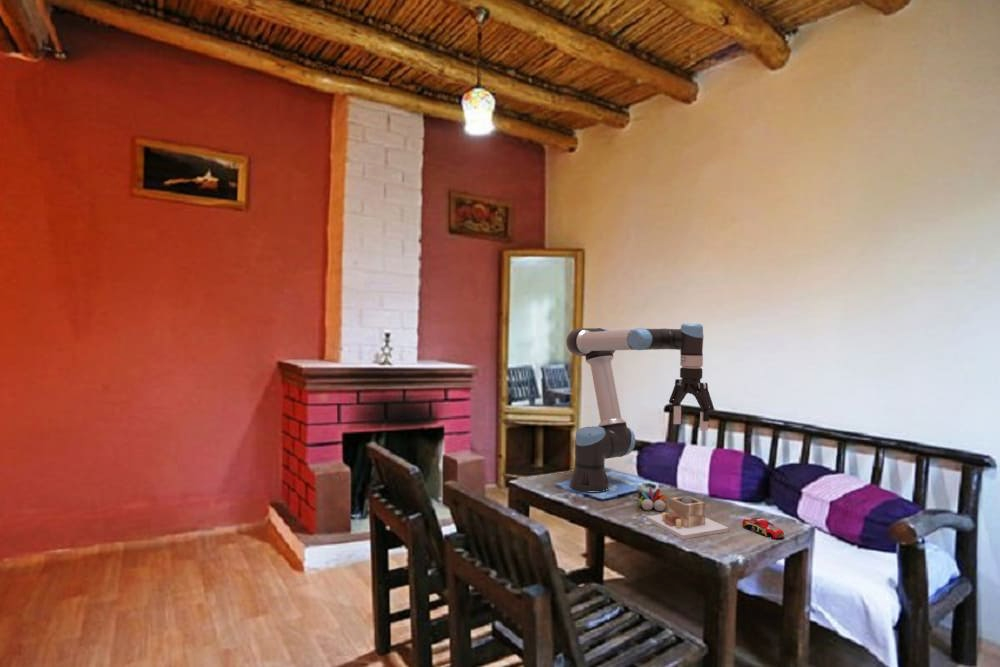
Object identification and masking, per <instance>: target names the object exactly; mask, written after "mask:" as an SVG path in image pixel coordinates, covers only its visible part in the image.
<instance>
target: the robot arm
mask: <svg viewBox="0 0 1000 667" xmlns="http://www.w3.org/2000/svg"><path fill="white" fill-rule="evenodd" d="M565 345H566V347H567V350H569V352H570V353H571V354H572V355H574V356H579V357H580V356H581V357H585V362H586V363H587V364H589V365H590V369H591V375H592V380H593V386H594V392H595V397H596V403H597V408H598V409H597V410H598V415H599V420H600V422H599V423H598V425H597V426H596V425H592V426H584V427H581V428H578V430H576V432H575V439H574V468H573V472H572V474H571V478H570V480H569V483H570V484H569V486H570V488H571V489H573V491H577V490H579V491H578V492H582V491H603V490H606V489H608V488H609V489H610V486H609V484H610V482H609V479H608V476H607V473H606V470H605V462H606V461H605V460H607V459H614V458H622V457H626V456H627V455H630V454H631V453H632V452H633V449H635V446H636V437H635V436H636V435H635V432H633V430H632V428H630V427H628V426H627V421H626V420H624V419H623V418H622V415H621V414H622V413H621V410H620V409H621V407H620V405H619V403H620V402H619V399H618V394H617V388H616V384H615V378H614V372H613V371H614V370H613V366H612V360H613V359H614V353H615V352H616V351H634V350H635V351H647V350H650V351H651V350H654V351H655V350H675V351H676V350H678V351H679V352H680V354H679V355H680V358H679V359H680V361H679V362H680V364H679V366H681V367H680V368H679V377H680V378H677V379H675V382H674V387H673V389H672V392H671V395H670V398H669V400H668V402H669V404H671V405H672V414H673V425H681V424H682V406H681V403H682V402H683V401H684V399H685V397H686V396H687V395H688V394H690V395H692V396H694V398H695V400H696V401H697V403H698V406H699V408H700V409H701V410H700V413H699V414H700V416H699V421H700V422H699V431H700V432H706V431H708V428H709V421H710V412H712V411H715V408H714V404H713V401H712V398H711V395H710V391H709V386H708V382H701V380H702V379H703V371H704V370H703V368H702V367H703V365H704V362H703V361H704V357H703V356H704V355H703V348H704V347H703V346H704V327H703V325H702V324H700V323H682V324H681V325H680V329H679V328H642V327H640V328H639V327H638V328H632V329H617V330H609V329H606V328H602V327H598V328H597V327H594V328H593V327H592V328H591V327H589V328H586V327H585V328H583V327H580V328H575V329H573V330H571V331H570V332H569V333H568V335H567V337H566V344H565ZM609 489H608V490H609ZM606 491H607V490H606ZM603 492H604V491H603Z"/></svg>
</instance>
